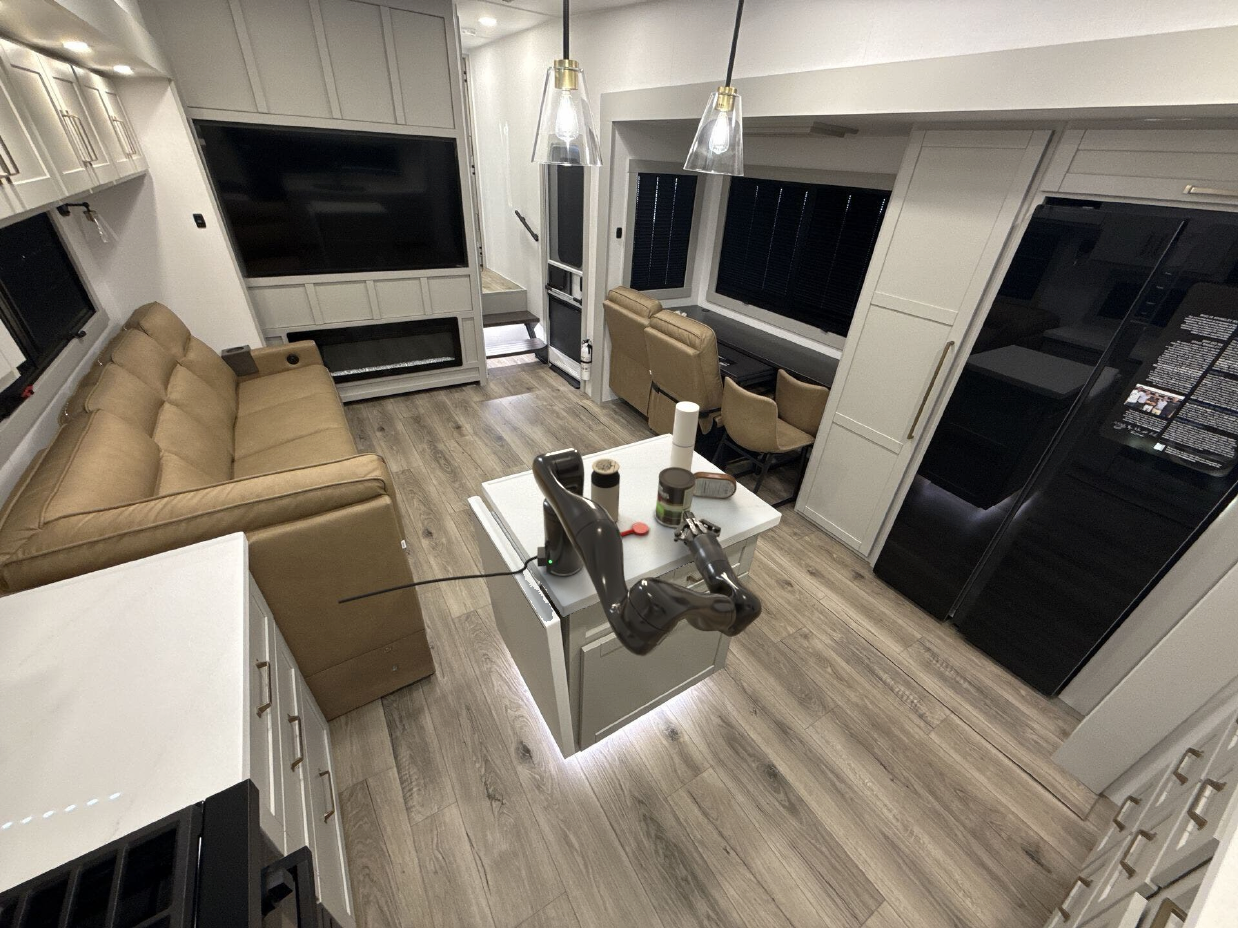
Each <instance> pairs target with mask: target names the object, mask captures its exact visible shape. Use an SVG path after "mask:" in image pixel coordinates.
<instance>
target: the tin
mask: <svg viewBox="0 0 1238 928" xmlns="http://www.w3.org/2000/svg"><path fill="white" fill-rule="evenodd" d="M693 474H694V476H695V478H696V481H695V484H694V491H693V497H698V498H708V499H718V500H726V499H730V498H732V497H733V496H734V495H735V494H736V491H737V489H738V488H737V487H738V486H737V480H736V479H735V477H734V476H733V475H731V474H728V473H721V472H711V471H695V472H693Z"/></svg>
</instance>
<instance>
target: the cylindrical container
mask: <svg viewBox="0 0 1238 928" xmlns="http://www.w3.org/2000/svg"><path fill="white" fill-rule="evenodd" d="M674 411H675V412H674V421H673V428H672V429H673V430H672V438H671V447H670V448H671V449H670V455H669V456H670V457H669V466H668V468H670V467H679V468H683V469H686V470H689V471H690V472H692V465H693V458H694V449H695V443H696V437H697V436H696V435H697V428H698V420H699V413H700V405H698V404H697V403H695V402H692V401H679V402H678V403H676V405H675V410H674Z"/></svg>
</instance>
